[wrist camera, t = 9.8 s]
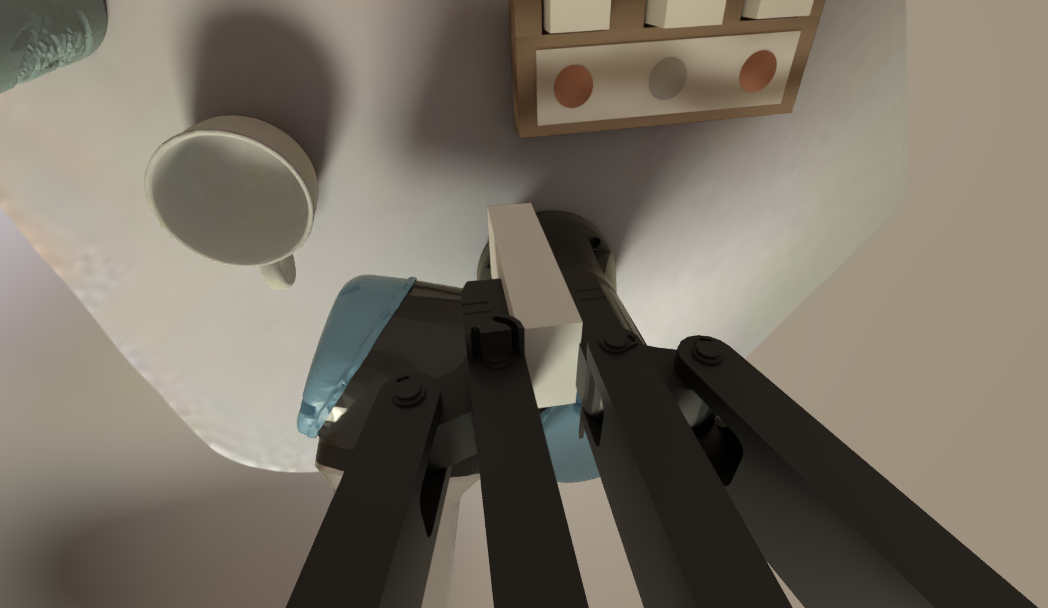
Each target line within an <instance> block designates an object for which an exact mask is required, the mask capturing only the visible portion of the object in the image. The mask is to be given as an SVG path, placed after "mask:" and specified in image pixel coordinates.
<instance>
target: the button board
mask: <svg viewBox="0 0 1048 608" xmlns="http://www.w3.org/2000/svg"><path fill="white" fill-rule="evenodd" d="M743 3H744V0H726V5H725V10H724V16H723V21H722V25H708V26H694V27H679V28H665V29H664V28H661V27H657V26H654V25H651V24H647V23H644V15H645V5H646V0H611V9H610V25H609V29H608V30H593V31H579V32H565V33H549V32H547V31H546V30H542V8H541V0H509V19H510V39H511V59H512V79H513V99H514V119H515V129H516V131H517V133H518V135H519V137H520V138H528V137H539V136H549V135H560V134H571V133H581V132H592V131H603V130H613V129H624V128H634V127H645V126H656V125H666V124H677V123H688V122H698V121H709V120H720V119H730V118H741V117H752V116H762V115H773V114H783V113H791V112H792V109H793V106H794V102H795V99H796V96H797V92H798V89H799V86H800V82H801V79H802V76H803V72H804V69H805V66H806V63H807V59H808V56H809V53H810V49H811V46H812V43H813V39H814V36H815V33H816V29H817V26H818V23H819V19H820V16H821V13H822V9H823V6H824V3H825V0H814V2H813V5H812V9H811V12H810V15H808V16H794V17H780V18H765V19H753V18H748V17H742V16H741V13H742V8H743Z"/></svg>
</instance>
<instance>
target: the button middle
mask: <svg viewBox="0 0 1048 608" xmlns="http://www.w3.org/2000/svg"><path fill="white" fill-rule="evenodd" d="M725 5H726V0H646V5H645V15H644V23H647V24H651V25H654V26H657V27H661V28H664V29H665V28H679V27H694V26H708V25H722V21H723V16H724V10H725Z"/></svg>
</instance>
